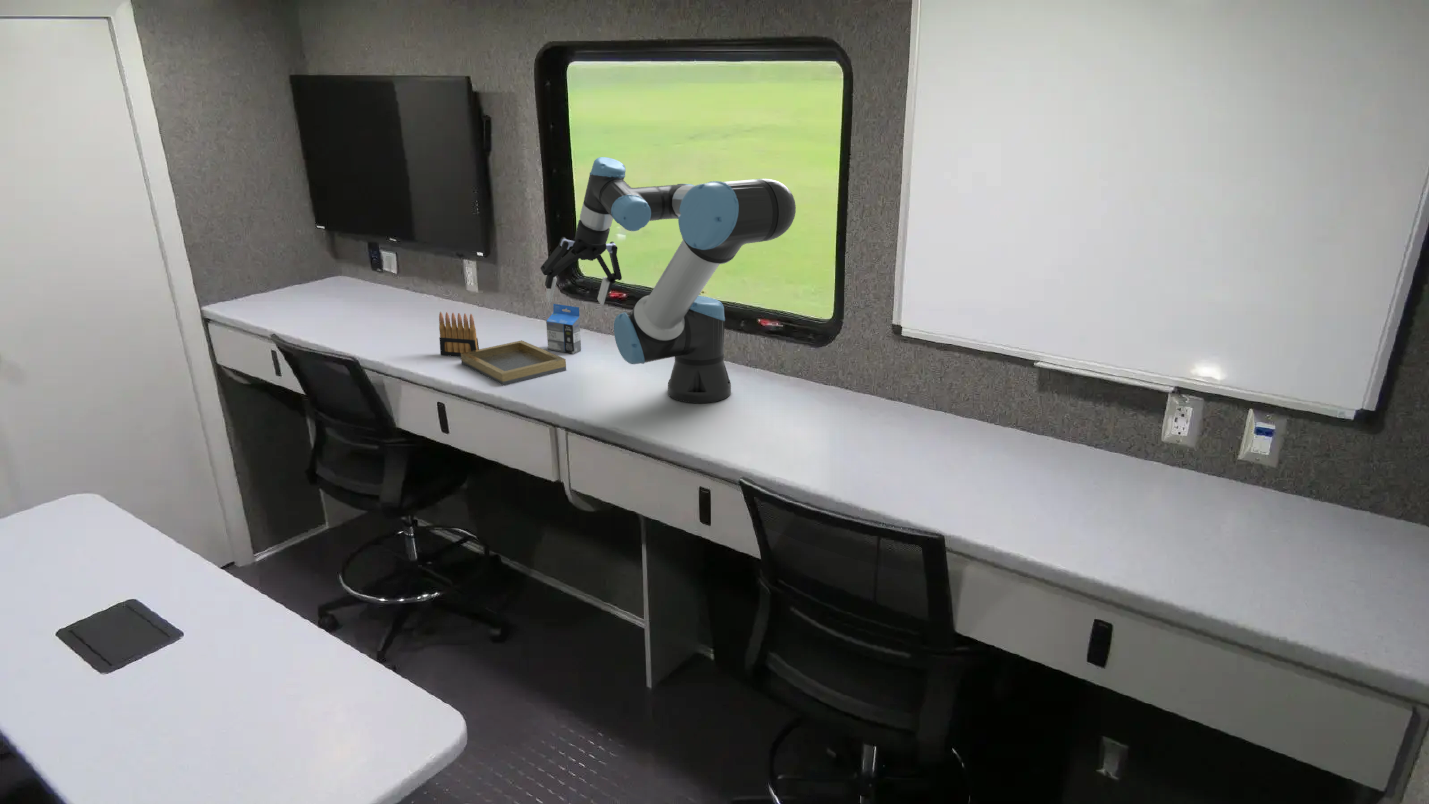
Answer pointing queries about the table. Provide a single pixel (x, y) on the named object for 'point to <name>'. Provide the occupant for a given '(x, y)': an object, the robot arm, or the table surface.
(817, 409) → the table surface
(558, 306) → the blue and grey box
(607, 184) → the robot arm
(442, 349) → the ammunition clip
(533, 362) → the shallow wooden tray
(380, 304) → the table surface
